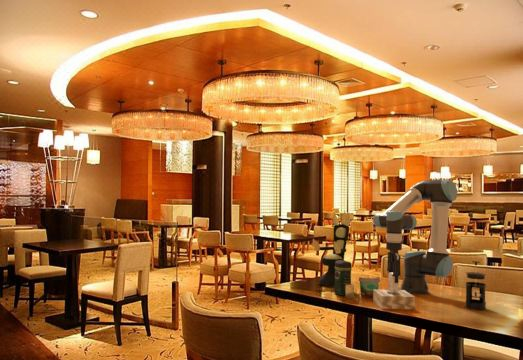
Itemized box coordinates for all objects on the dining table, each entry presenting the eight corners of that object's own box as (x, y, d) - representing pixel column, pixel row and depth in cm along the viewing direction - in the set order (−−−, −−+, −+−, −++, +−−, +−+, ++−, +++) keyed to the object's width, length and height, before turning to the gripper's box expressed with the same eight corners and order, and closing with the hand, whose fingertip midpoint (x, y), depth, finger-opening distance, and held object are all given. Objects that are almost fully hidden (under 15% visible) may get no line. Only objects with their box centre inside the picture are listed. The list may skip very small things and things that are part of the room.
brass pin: (352, 297, 243) (353, 284, 244) (354, 299, 239) (354, 285, 239) (344, 297, 243) (344, 283, 244) (346, 299, 239) (346, 285, 239)
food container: (363, 297, 243) (364, 279, 243) (358, 295, 249) (358, 276, 249) (384, 297, 246) (384, 278, 246) (378, 294, 252) (378, 276, 252)
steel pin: (396, 304, 230) (396, 272, 230) (398, 306, 225) (399, 273, 226) (387, 304, 230) (387, 272, 230) (390, 306, 225) (390, 273, 226)
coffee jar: (353, 295, 247) (354, 261, 248) (340, 296, 244) (341, 261, 245) (344, 292, 256) (344, 259, 257) (331, 292, 253) (332, 259, 254)
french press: (473, 304, 233) (474, 259, 234) (491, 308, 225) (491, 261, 225) (459, 307, 227) (459, 260, 228) (476, 311, 219) (476, 263, 219)
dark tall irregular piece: (310, 284, 278) (311, 210, 279) (333, 280, 293) (334, 210, 294) (334, 289, 264) (336, 211, 265) (357, 285, 279) (359, 211, 280)
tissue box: (404, 301, 235) (404, 290, 236) (414, 309, 219) (414, 296, 220) (373, 301, 235) (373, 289, 236) (381, 308, 219) (381, 296, 220)
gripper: (381, 239, 238) (380, 284, 238) (392, 243, 219) (391, 291, 218) (395, 240, 239) (394, 284, 238) (408, 244, 219) (407, 292, 218)
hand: (393, 287), depth 228 cm, fingers open, 7 cm apart
